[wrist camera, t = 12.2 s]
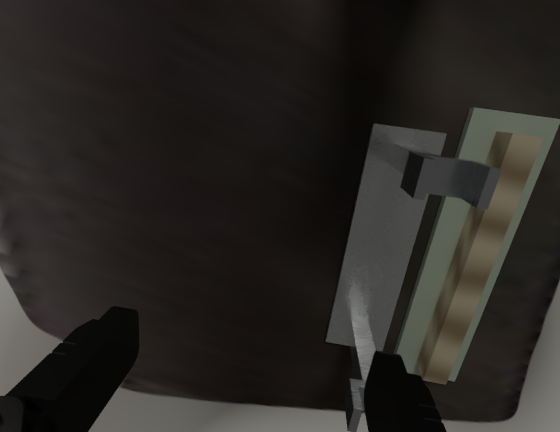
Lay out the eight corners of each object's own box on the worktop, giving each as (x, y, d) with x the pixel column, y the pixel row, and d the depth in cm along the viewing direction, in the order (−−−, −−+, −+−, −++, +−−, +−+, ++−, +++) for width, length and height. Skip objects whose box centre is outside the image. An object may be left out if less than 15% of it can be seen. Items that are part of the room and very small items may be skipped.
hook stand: (372, 123, 36) (411, 133, 22) (443, 133, 36) (529, 150, 22) (325, 337, 46) (331, 439, 32) (380, 346, 46) (412, 454, 32)
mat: (470, 107, 35) (474, 107, 34) (554, 119, 35) (561, 119, 34) (389, 365, 47) (391, 370, 46) (451, 375, 47) (454, 381, 46)
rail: (496, 131, 35) (513, 133, 32) (524, 134, 34) (544, 137, 32) (416, 363, 45) (423, 380, 42) (437, 366, 45) (446, 384, 42)
